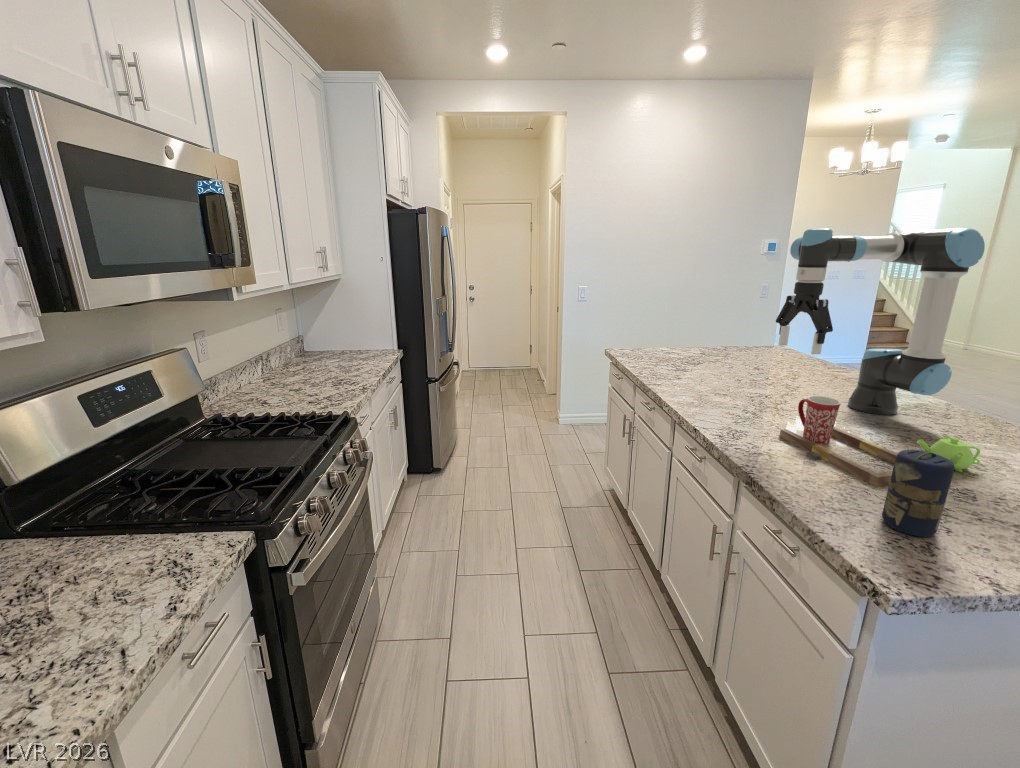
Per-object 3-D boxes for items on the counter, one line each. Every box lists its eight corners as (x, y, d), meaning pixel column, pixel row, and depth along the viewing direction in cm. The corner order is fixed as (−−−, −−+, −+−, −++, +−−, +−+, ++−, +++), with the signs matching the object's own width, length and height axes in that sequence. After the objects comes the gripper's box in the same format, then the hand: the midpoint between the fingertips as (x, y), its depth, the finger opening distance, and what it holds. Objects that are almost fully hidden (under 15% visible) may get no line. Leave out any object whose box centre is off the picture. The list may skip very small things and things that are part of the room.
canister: (869, 516, 109) (886, 443, 104) (908, 514, 109) (926, 442, 104) (906, 541, 99) (927, 463, 94) (948, 539, 100) (970, 460, 95)
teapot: (986, 473, 129) (994, 444, 127) (953, 477, 127) (961, 448, 124) (941, 456, 140) (949, 429, 137) (910, 460, 137) (917, 432, 135)
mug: (840, 444, 148) (848, 403, 145) (816, 446, 146) (823, 405, 143) (807, 429, 160) (814, 391, 156) (785, 432, 158) (791, 393, 155)
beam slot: (836, 431, 159) (838, 424, 158) (944, 477, 126) (947, 469, 126) (771, 437, 154) (772, 430, 153) (866, 487, 122) (868, 478, 121)
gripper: (769, 279, 157) (760, 342, 162) (833, 284, 133) (820, 358, 139) (789, 278, 158) (779, 341, 164) (856, 284, 135) (842, 357, 140)
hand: (798, 349), depth 151 cm, fingers open, 13 cm apart
